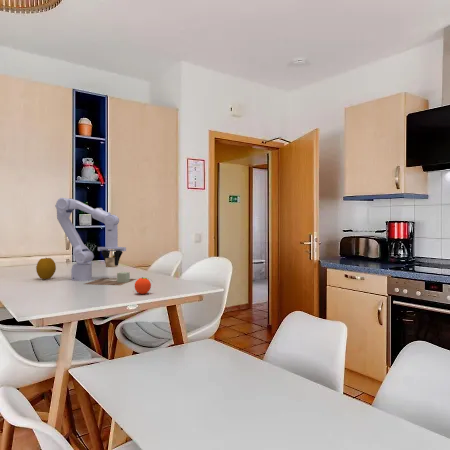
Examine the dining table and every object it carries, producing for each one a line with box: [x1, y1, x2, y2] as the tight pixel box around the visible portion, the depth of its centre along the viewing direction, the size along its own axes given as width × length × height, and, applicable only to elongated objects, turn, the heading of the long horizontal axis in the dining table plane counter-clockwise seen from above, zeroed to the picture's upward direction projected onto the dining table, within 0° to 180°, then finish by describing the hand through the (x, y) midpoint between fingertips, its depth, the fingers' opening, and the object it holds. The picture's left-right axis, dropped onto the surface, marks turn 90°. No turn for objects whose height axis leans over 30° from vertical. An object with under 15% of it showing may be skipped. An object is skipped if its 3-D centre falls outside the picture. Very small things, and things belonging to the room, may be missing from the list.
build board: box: [84, 277, 137, 286], centre depth 202 cm, size 19×20×1 cm
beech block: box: [104, 256, 119, 268], centre depth 207 cm, size 4×4×4 cm
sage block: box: [116, 271, 131, 284], centre depth 201 cm, size 4×4×4 cm
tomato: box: [134, 277, 154, 295], centre depth 175 cm, size 8×7×7 cm
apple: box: [35, 256, 57, 280], centre depth 216 cm, size 10×10×12 cm
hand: (112, 265), depth 207 cm, fingers closed on beech block, 4 cm apart
